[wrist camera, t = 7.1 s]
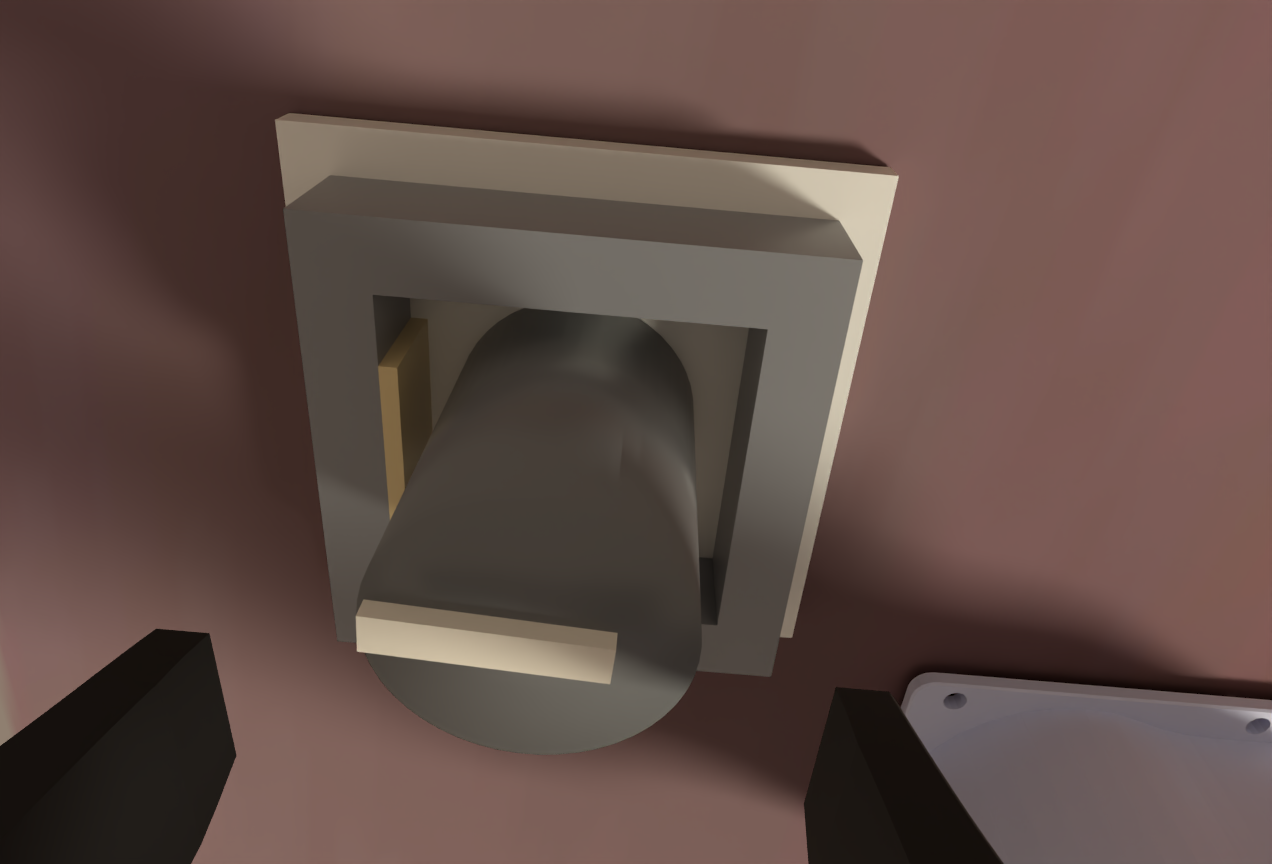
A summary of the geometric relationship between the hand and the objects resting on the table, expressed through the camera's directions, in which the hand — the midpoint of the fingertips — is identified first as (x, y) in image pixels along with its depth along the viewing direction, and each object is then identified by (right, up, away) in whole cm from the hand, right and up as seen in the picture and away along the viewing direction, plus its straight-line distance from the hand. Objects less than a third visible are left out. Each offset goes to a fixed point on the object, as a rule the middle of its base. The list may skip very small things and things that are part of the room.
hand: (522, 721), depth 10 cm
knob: (0, +4, +6) cm, 7 cm away
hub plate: (0, +4, +7) cm, 8 cm away
